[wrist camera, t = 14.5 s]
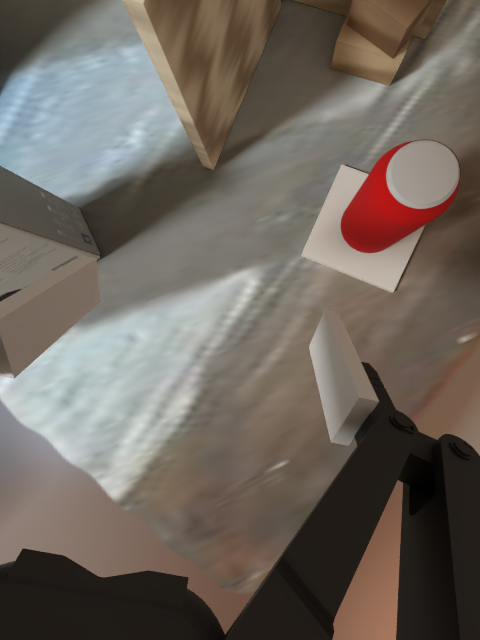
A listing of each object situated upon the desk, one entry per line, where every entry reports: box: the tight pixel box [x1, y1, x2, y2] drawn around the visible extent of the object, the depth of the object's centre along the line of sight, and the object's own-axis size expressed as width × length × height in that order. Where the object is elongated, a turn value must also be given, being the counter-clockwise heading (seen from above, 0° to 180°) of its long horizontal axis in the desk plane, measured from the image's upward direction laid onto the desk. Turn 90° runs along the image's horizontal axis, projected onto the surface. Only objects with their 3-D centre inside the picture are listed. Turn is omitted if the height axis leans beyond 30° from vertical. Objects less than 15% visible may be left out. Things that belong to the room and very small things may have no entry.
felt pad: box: [301, 165, 425, 293], centre depth 31 cm, size 11×11×1 cm
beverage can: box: [341, 140, 460, 253], centre depth 25 cm, size 6×6×12 cm
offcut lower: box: [330, 1, 413, 86], centre depth 30 cm, size 5×7×4 cm
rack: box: [122, 0, 446, 170], centre depth 23 cm, size 23×18×18 cm
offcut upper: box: [347, 0, 434, 59], centre depth 26 cm, size 4×6×3 cm, turn 49°
